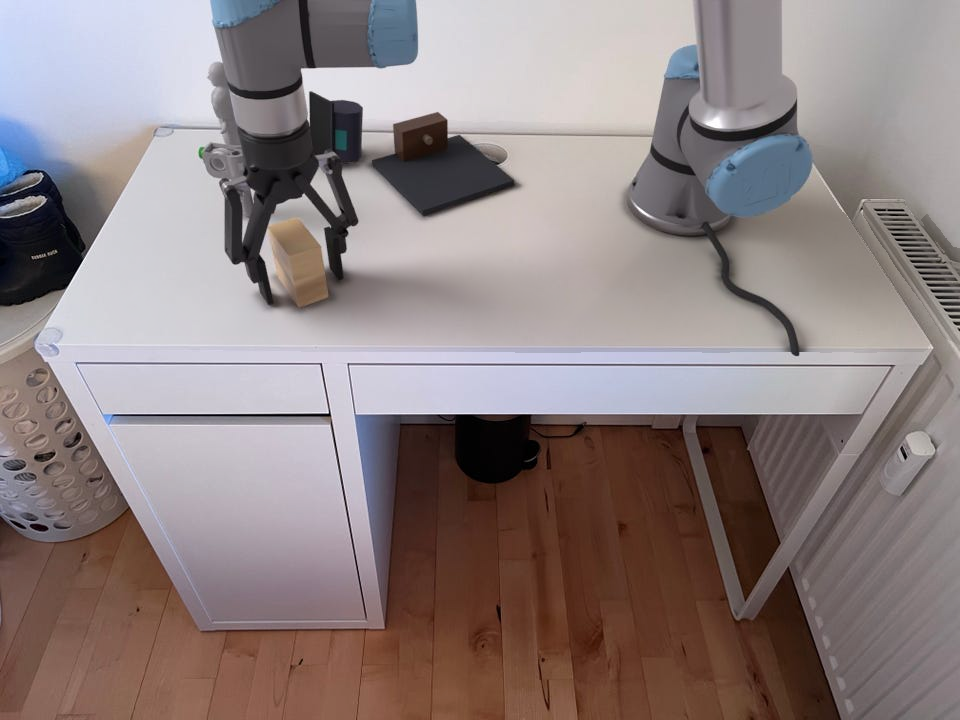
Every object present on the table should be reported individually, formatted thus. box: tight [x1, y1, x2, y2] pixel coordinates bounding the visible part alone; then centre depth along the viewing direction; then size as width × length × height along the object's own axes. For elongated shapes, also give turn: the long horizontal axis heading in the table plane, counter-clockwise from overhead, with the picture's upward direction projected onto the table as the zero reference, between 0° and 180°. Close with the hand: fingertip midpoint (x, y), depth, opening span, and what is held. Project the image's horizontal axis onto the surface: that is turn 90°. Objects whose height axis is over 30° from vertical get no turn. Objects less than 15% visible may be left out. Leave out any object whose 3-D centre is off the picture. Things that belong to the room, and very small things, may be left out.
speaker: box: [308, 90, 364, 164], centre depth 114 cm, size 8×6×10 cm
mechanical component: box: [198, 141, 254, 218], centre depth 103 cm, size 3×10×10 cm, turn 78°
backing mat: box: [371, 134, 515, 217], centre depth 115 cm, size 16×16×1 cm
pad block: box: [267, 217, 330, 309], centre depth 93 cm, size 7×4×8 cm, turn 33°
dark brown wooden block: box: [392, 111, 449, 162], centre depth 116 cm, size 4×8×5 cm, turn 123°
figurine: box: [206, 61, 241, 146], centre depth 112 cm, size 9×4×15 cm, turn 174°
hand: (302, 285), depth 95 cm, fingers open, 9 cm apart
